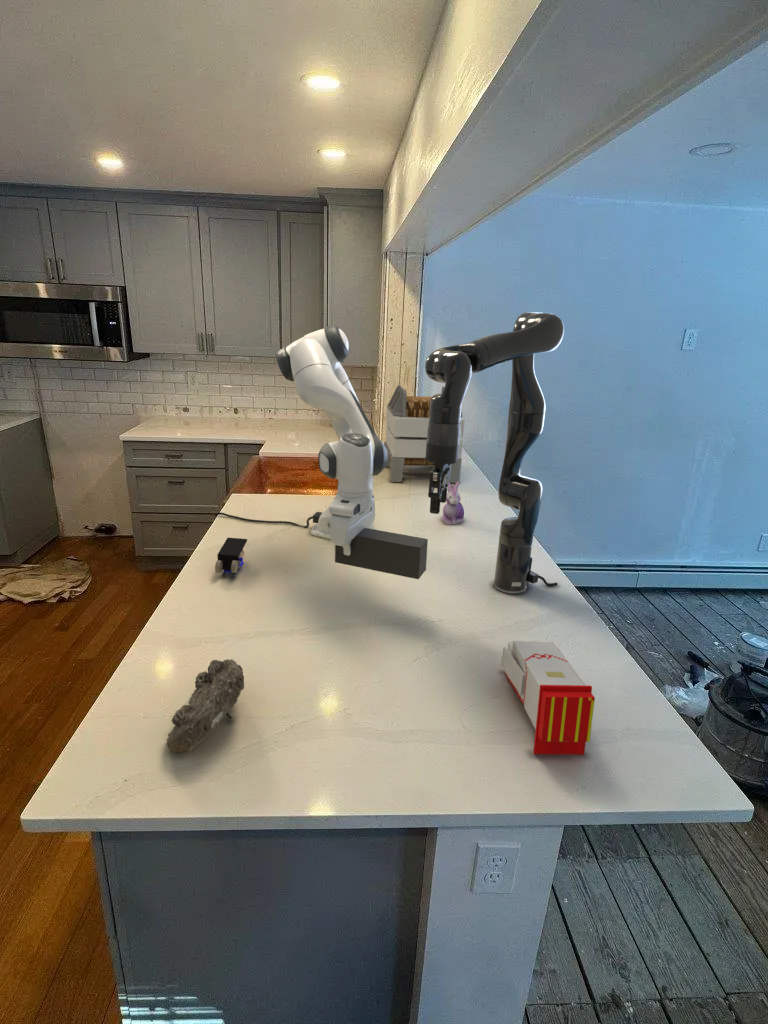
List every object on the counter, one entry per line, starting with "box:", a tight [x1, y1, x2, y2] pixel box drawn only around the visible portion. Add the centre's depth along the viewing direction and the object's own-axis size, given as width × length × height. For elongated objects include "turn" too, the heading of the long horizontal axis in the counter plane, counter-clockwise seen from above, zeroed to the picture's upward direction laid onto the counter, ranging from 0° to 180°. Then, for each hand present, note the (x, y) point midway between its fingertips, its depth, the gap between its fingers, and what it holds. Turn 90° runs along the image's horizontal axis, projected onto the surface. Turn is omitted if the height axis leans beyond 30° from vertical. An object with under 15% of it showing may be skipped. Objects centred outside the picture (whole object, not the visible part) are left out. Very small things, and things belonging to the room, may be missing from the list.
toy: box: [500, 640, 596, 756], centre depth 114 cm, size 12×13×30 cm
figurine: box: [441, 482, 465, 525], centre depth 212 cm, size 9×10×15 cm
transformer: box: [383, 384, 465, 484], centre depth 268 cm, size 34×33×41 cm
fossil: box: [166, 658, 245, 754], centre depth 106 cm, size 22×10×15 cm
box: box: [334, 528, 429, 580], centre depth 145 cm, size 23×6×9 cm, turn 68°
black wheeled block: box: [214, 537, 248, 578], centre depth 166 cm, size 7×8×15 cm
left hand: (353, 549), depth 148 cm, fingers closed on box, 6 cm apart
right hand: (438, 507), depth 135 cm, fingers open, 8 cm apart
